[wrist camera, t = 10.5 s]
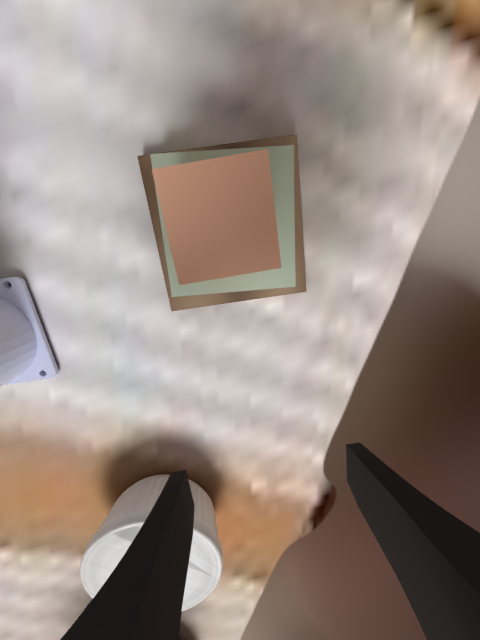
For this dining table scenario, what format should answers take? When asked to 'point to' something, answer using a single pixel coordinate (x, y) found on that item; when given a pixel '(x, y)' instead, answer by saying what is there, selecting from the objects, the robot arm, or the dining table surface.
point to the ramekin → (126, 525)
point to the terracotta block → (219, 216)
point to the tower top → (285, 220)
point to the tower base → (229, 297)
